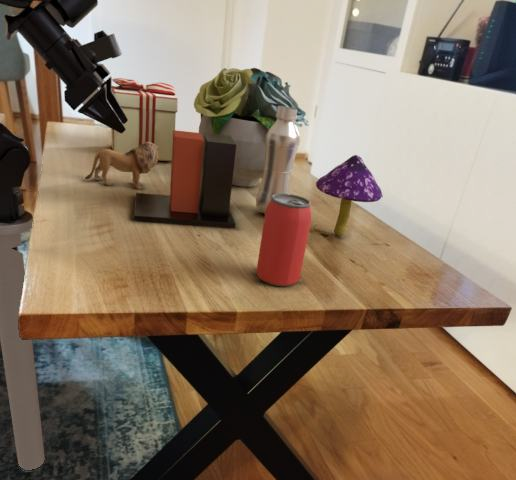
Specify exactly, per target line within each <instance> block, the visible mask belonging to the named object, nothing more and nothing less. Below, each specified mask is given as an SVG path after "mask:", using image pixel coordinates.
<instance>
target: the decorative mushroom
mask: <svg viewBox="0 0 516 480" xmlns="http://www.w3.org/2000/svg"><path fill="white" fill-rule="evenodd" d="M315 187H316V189H317V190H319V192H322V193H323V194H325V195H328V196H331V197H334V198H338V199H341V200H340V204H339V211H338V215H337V219H336V224H335V226H334V229H333V233H334V234H335V235H336V236H337V237H342V236H343V235H344V234H345V231H346V228H347V225H348V221H349V218H350V214H351V213H350V212H351V207H352V202H360V203H374V202H378V201H379V200H381V199H382V198H383V197H384V196H383V192H382V189H381V188H380V185H378V183H377V180H376V179H375V176H374V175H373V173H372V172H371V171H370V169H369V168H368V167H367V165H366V164H365V162H364V160H363V158H362V157H361V156H360V155H358V154H354V155H352V156H351V157H349V158H348V159H346V160H345V161H343V162H342V163H340V164H338V165H336V166H335V167H334V168H332V169H331V170H330V171H328V173H326V174H325V175H323V176H321V177H319V179H317V181H316V183H315Z"/></svg>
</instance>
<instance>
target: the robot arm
mask: <svg viewBox="0 0 516 480" xmlns="http://www.w3.org/2000/svg"><path fill="white" fill-rule="evenodd" d="M33 2H39V3H38V4H37V5H35V6H34V7H32V6H31V5H32V3H33ZM98 2H99V0H0V6H6V7H11V8H16V9H20V10H19V11H18V12H17V13H16V14H14V15H9V14H4V16H3V18H2V19H3V20H2V22H3V24H4V28H5V38H6V40H11V39H12V38H13V37H15V36H16V35H17V34H18V33H19V35H20V36H22V37H23V39H24V41H26V42H27V43H28V44H29V45H30V47H31V48H32V49H33V50H34V51H35V53H37V54H38V55H39V57H40V58H41V59H42V60H43V62H44V63H45V64H44V66H45V67H46V68H47V69H48V71H51V70H52V71H53V73H54V74H56V76H57V77H58V78H59V79H60V80H61V81H62V83H63V84H64V85H65V87H64V88H65V90H64V91H63V94H64V95H63V97H64V102H65V103H66V104H67V105H68V106H69V107H70V109H72V111H76V110H77V113H79V114H82V115H84V116H86V117H87V118H89V119H92V120H93V121H95V122H98V123H100V124H102V125H103V126H106V127H108V128H110V130H111V129H113V130H115V131H117V132H119V133H123V132H124V131H125V130H126V128H125V127H124V125H123V124H125V123H126V122H127V121H128V119H127V117H126V115H125V113H124V111H123V110H122V108H121V106H120V104H119V103H118V101H117V99H116V97H115V96H114V94H113V92H112V85H113V83H112V82H113V81H112V80H113V77H112V76H110V74H111V72H110V70H109V69H108V68H107V67H106V66H105V65H104V64H103V63H101V62H103V61H106V60H109V59H116V58H118V57H120V56H122V55H123V52H122V50H121V47H120V45H119V42H118V41H117V38H116V35H115V33H111V34H109V35H108V34H107V33H106V32H105V31H104V30H103V29H102V30H99V31H97V32H94V33H93V41H90V42H87V43H84V44H82V43H81V42H80V41H79V40H78V39H77V38H74V37H73V38H72V37H71V36H70V35H69V33H68V32H67V31H66V30H65V29H64V28H63V27H65V26H67V27H68V28H71V29H73V28H75V27H76V26H77V25H78V24H79V23H80V22H81V21H82V20H83V19H84V18H86V17H87V16H88V15H89V14H90V13H91V12H92V11H93V10H94V9H96V8H97V7H98V4H99V3H98ZM107 77H108V78H107ZM106 78H107V79H106ZM105 79H106V80H105ZM81 105H82V106H81ZM79 107H80V108H79ZM78 108H79V109H78ZM24 141H25V139H24V138H22V137H20V136H19V135H16V134H14V133H12V131H11V130H10V129H9V128H8V127H7V126H5V124H4V123H2V122H0V223H7V224H13V223H15V222H16V221H17V220H18V219H20V218H21V217H22V216H23V215H25V214H26V211H27V210H26V208H25V206H24V205H23V204H24V203H25V202H24V192H23V190H20V188H21V187H22V184H23V181H24V177H25V174H26V171H27V170H28V169H29V167H30V165H31V154H30V153H31V152H30V149H29V148H28V146H26V145H25V144H24V143H23V142H24ZM25 210H26V211H25Z"/></svg>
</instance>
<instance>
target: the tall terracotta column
mask: <svg viewBox="0 0 516 480" xmlns="http://www.w3.org/2000/svg"><path fill="white" fill-rule="evenodd" d="M203 143H204V140H203V137H202V135H201V133H199V132H193V131H186V130H185V131H184V130H177V129H175V130H173V146H172V161H171V170H170V187H169V196H170V209H171V211H173V212H185V213H198V206H199V193H200V181H201V168H202V156H203Z"/></svg>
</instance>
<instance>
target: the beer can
mask: <svg viewBox="0 0 516 480" xmlns="http://www.w3.org/2000/svg"><path fill="white" fill-rule="evenodd" d="M311 205H312V202H311V201H310V200H309V199H307V198H305V197H304V196H301V195H296V194H293V193H289V194H274V195H273V196H272V197H271V201H270V203H269V204H268V206H267V209H266V212H265V214H264V219H263V226H262V231H261V239H260V245H259V253H258V258H257V259H258V260H257V265H256V271H255V273H256V275H257V277H258V278H259V279H260V281H262V282H264V283H266V284H269V285H271V286H275V287H276V286H277V287H291V286H294V285H295V284H297V283H298V282H299V281H300V278H301V274H302V268H303V263H304V260H305V254H306V248H307V244H308V238H309V234H310V229H311V224H312V210H311Z"/></svg>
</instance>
